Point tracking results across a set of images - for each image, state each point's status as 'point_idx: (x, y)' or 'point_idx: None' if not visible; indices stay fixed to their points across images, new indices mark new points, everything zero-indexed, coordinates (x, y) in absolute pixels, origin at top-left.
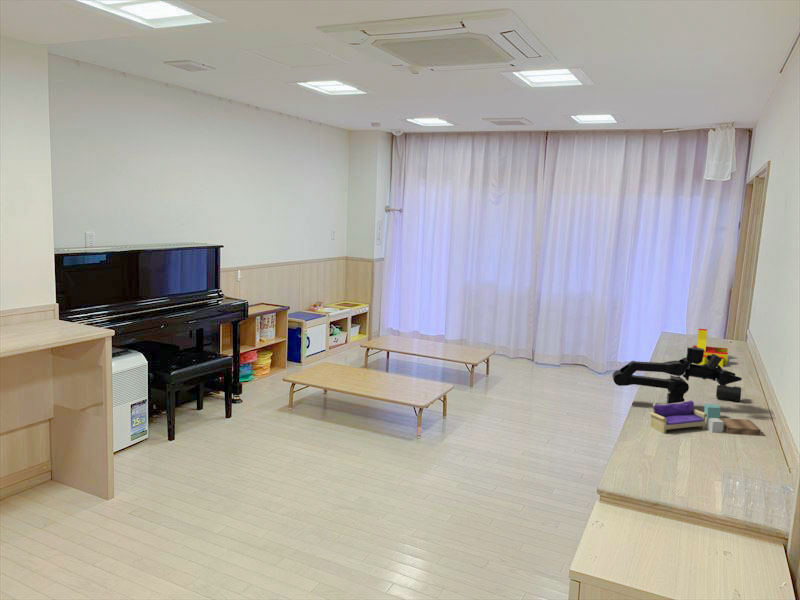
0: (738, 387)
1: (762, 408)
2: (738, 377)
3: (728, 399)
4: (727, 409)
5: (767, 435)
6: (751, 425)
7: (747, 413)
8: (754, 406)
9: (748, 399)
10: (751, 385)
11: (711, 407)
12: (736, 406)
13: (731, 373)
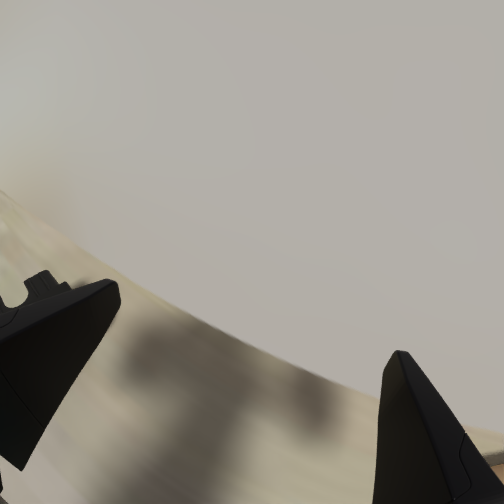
0: (43, 276)
1: (184, 313)
2: (428, 386)
3: None
4: (169, 473)
5: (501, 445)
6: (501, 479)
7: (248, 417)
8: (153, 323)
9: (77, 286)
10: (17, 212)
11: None
12: (130, 393)
13: (87, 312)
